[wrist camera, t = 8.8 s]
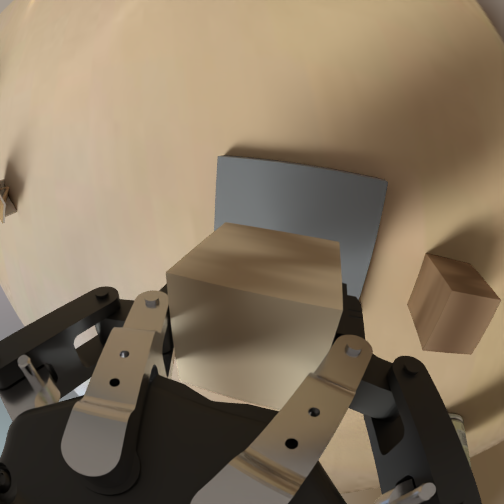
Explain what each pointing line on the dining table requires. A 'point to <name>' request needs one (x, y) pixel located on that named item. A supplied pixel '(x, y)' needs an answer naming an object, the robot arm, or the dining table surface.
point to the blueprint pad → (304, 206)
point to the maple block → (254, 311)
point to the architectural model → (5, 202)
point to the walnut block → (451, 305)
